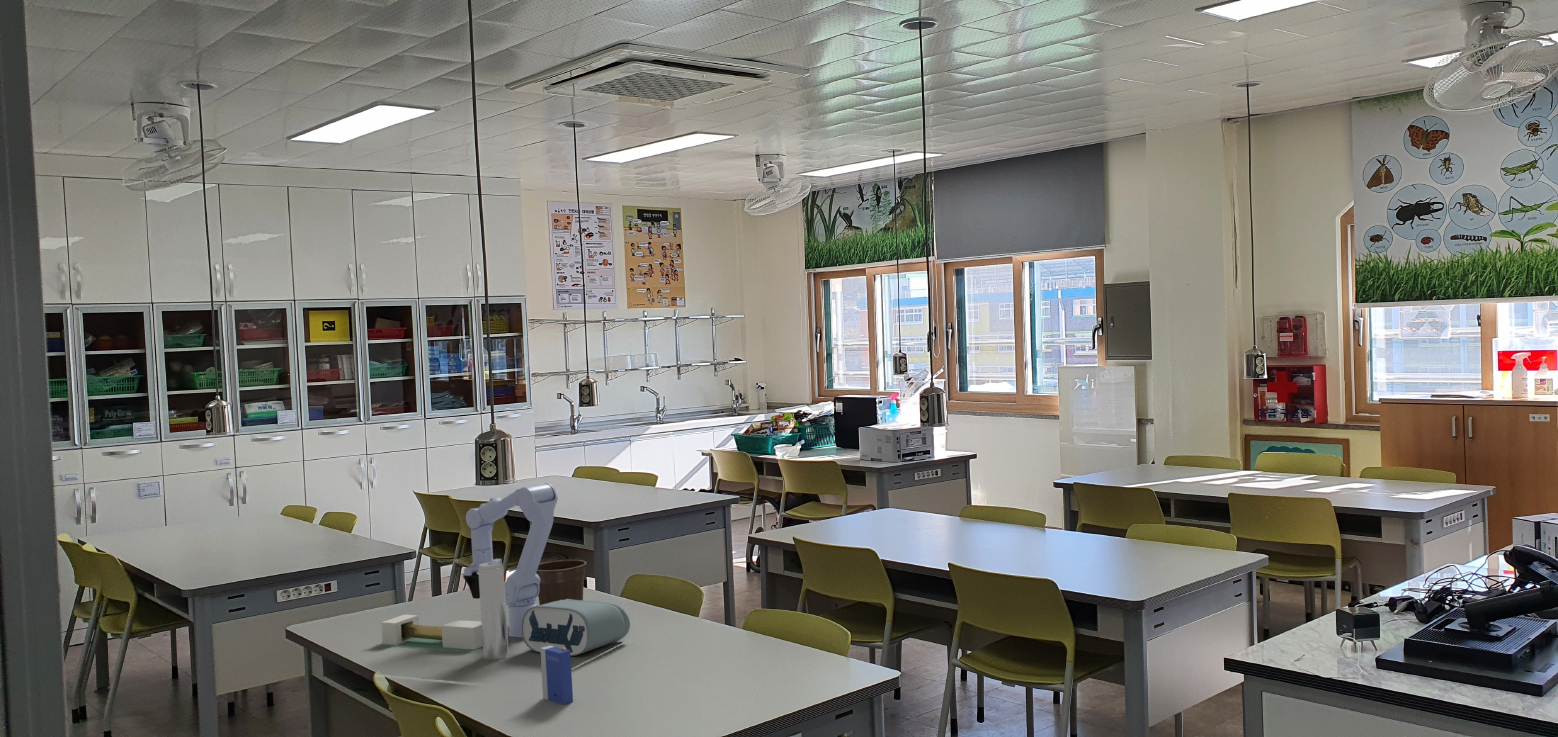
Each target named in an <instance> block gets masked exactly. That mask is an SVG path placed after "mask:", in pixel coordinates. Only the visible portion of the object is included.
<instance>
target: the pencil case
mask: <svg viewBox="0 0 1558 737" xmlns="http://www.w3.org/2000/svg"><path fill="white" fill-rule="evenodd" d="M538 605H539V606H536V607H532V608H530V609H528V610H527V611H526V612H525V614H524V616H523V619H522V636H523V637H522V639H523V642H524V644H525V645H526V647H528V648H529V649H530V650H532V651H533V652H536V653H539V654H541V648H542V647H547V646H554V647H558V648H567V650H570V657H573V656H574V657H575V656H578V655H581V654H585V653H586V652H589V651H592V650H595V649H599V648H602V647H604V646H607V645H611V644H615V643H617V642H619V641H621V640H622V639H624V638H625V636H627V634H628V633H629V632H630V626H631V621H630V617H629V615H628V613H627V612H626V611H625V610H624V608H622V607H621V606H620V605H618V604H616V603H613V602H608V601H601V600H600V601H599V600H583V601H582V600H572V599H565V600H560V601H555V602H550V603H547V604H543V605H540V604H538Z"/></svg>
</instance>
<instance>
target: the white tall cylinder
mask: <svg viewBox="0 0 1558 737" xmlns="http://www.w3.org/2000/svg"><path fill="white" fill-rule="evenodd" d="M477 573H478V575H479V589H480V598H479V599H480V600H479V603H480V619H481V620H480V622H481V623H482V640H483V647H482V654H483V656H482V657H483V659H484V660H487V661H493V660H494V661H496V660H501V659H505V658H507V657H509V655H510V654H509V642H508V640H509V639H508V637H509V636H507V633H508V626H507V625H508V623H507V622H508V620H507V605H506V602H505V585H504V584H505V570H504V565H503V564H502V565H501V563H500V562H488V563H483V564H480V565H479V568H478V572H477Z"/></svg>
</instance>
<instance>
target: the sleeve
mask: <svg viewBox="0 0 1558 737" xmlns="http://www.w3.org/2000/svg"><path fill="white" fill-rule="evenodd" d="M441 627H442V642H443V647H447V648H460V649H473V650H474V651H476V650H478V649H481V648H483V647H482V646H483V640H482V623H481V620H480V621H479V620H477V621H476V620H461V619H455V620H453V621H450V622H448V623H444V624H443V625H441ZM480 647H481V648H480ZM477 648H478V649H477ZM475 649H476V650H475Z"/></svg>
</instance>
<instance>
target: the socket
mask: <svg viewBox="0 0 1558 737" xmlns="http://www.w3.org/2000/svg"><path fill="white" fill-rule="evenodd" d="M419 622H420V621H419V615H418V614H417V615H415V614H402V615H399V616H396V617H392V618H390V619H386V620H384V621H381V638H382V643H383V644H388V645H398V644H401V643H404V642H406V641H409V640H412V639H414V638H402V635H401V624H410V625H420V624H419Z"/></svg>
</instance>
